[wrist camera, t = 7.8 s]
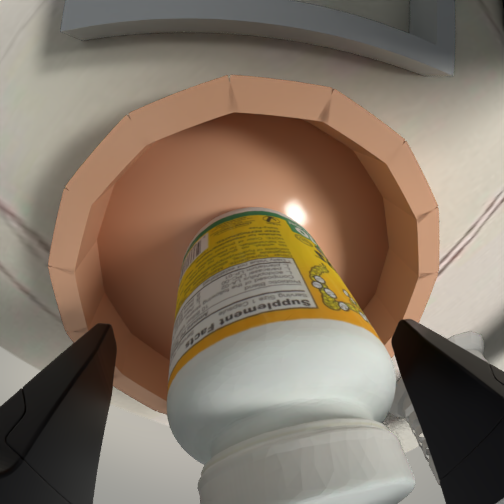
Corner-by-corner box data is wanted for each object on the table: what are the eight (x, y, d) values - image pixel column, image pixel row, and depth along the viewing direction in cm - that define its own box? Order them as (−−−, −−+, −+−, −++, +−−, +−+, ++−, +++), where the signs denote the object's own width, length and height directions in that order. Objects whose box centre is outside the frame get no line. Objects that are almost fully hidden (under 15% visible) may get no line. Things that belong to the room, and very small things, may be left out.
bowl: (420, 118, 11) (474, 129, 8) (353, 364, 17) (374, 408, 14) (77, 88, 9) (32, 87, 6) (111, 368, 15) (99, 417, 12)
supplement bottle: (162, 226, 11) (91, 502, 3) (305, 186, 11) (494, 402, 3) (207, 335, 14) (220, 555, 5) (324, 303, 14) (420, 504, 5)
